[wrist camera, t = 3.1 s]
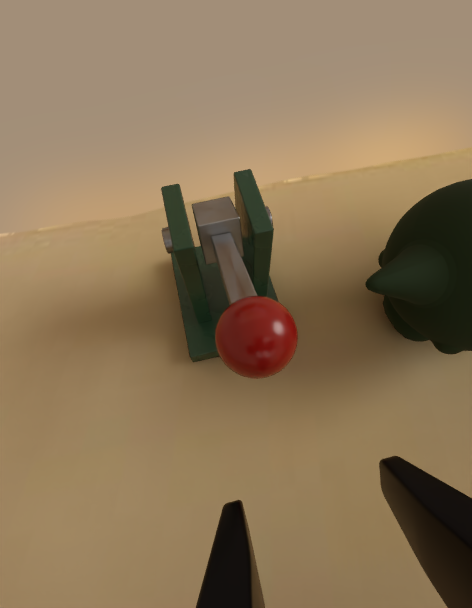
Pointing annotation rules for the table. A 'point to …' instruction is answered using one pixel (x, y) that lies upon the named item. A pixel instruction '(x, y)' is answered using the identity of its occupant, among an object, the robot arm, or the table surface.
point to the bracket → (206, 278)
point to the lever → (243, 299)
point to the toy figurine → (431, 270)
